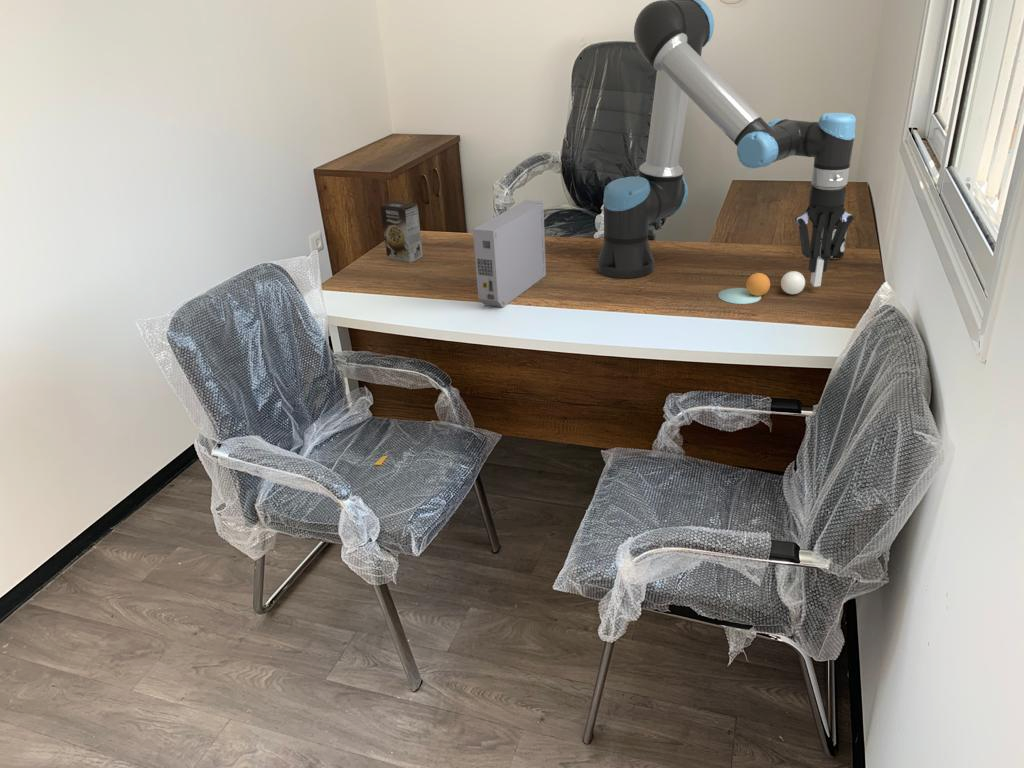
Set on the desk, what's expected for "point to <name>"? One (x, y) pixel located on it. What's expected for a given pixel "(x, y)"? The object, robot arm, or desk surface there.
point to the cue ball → (793, 282)
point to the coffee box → (401, 231)
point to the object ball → (758, 284)
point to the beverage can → (842, 247)
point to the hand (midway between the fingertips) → (815, 284)
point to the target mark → (738, 296)
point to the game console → (510, 253)
